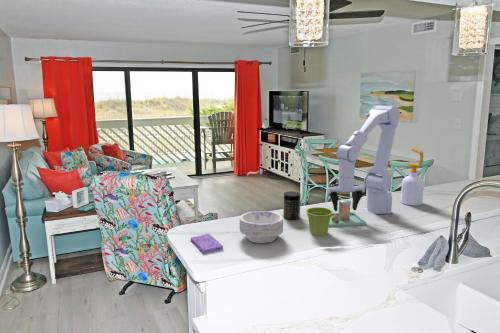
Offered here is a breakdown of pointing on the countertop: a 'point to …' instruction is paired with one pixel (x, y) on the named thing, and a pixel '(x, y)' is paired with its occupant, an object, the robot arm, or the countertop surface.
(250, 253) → the countertop surface
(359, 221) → the tray
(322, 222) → the plant pot
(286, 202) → the supplement container
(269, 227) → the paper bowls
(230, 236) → the countertop surface
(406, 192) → the soap bottle
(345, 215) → the shaker
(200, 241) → the sponges
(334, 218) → the ball
